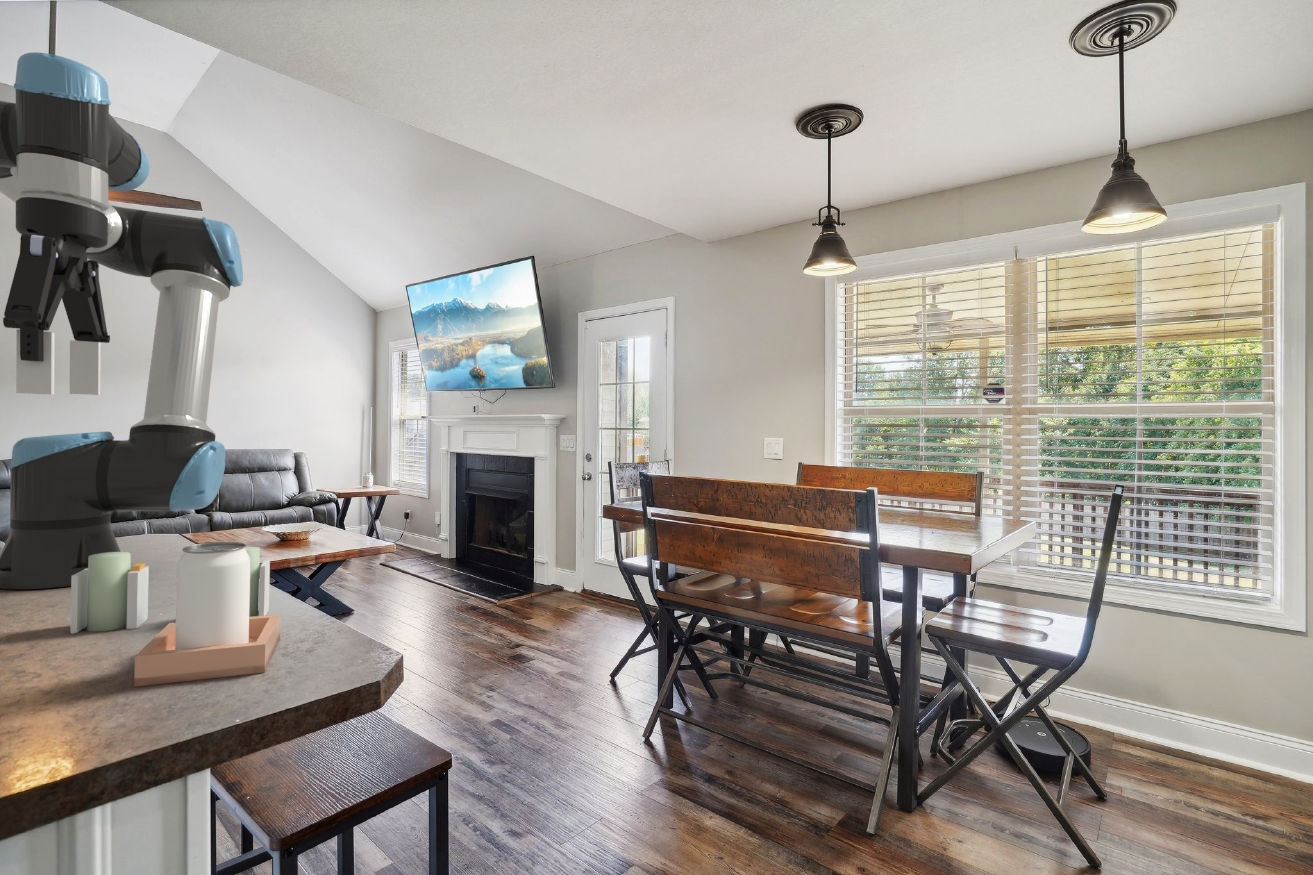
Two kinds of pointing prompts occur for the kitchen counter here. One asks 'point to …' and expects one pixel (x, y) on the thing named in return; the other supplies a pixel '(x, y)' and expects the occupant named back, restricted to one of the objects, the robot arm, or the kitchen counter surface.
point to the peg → (107, 590)
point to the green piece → (254, 579)
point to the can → (213, 595)
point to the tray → (207, 655)
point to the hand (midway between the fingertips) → (62, 394)
